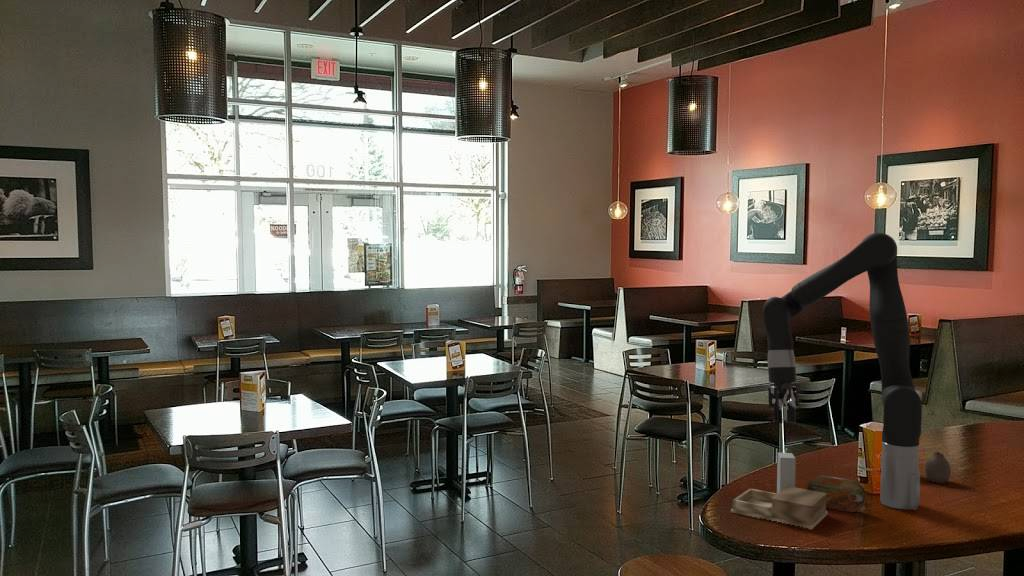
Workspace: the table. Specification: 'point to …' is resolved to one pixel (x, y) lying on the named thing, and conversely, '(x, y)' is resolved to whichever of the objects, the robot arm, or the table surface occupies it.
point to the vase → (938, 468)
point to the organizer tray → (761, 507)
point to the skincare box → (785, 471)
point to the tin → (839, 492)
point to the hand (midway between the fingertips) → (785, 422)
